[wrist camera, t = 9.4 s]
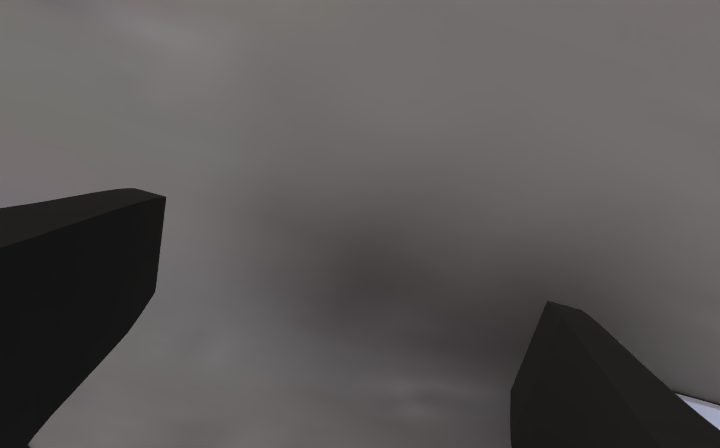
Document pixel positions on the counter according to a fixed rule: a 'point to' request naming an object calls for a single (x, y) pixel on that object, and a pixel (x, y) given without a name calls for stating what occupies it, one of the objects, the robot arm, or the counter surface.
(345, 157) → the counter surface
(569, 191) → the counter surface
